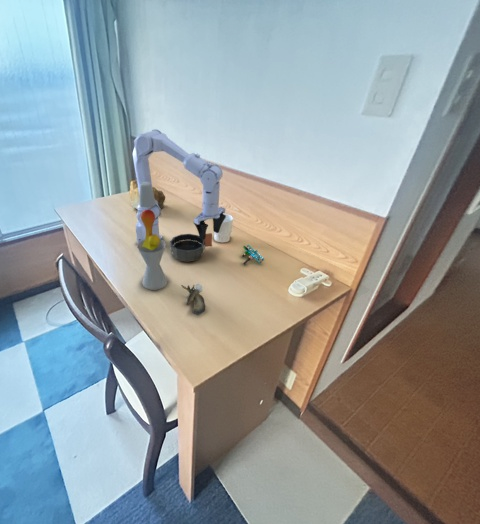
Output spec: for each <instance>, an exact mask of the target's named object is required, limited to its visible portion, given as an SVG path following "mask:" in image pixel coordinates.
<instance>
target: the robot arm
mask: <svg viewBox="0 0 480 524" xmlns="http://www.w3.org/2000/svg"><path fill="white" fill-rule="evenodd" d="M133 144H134V145H133V146H134V147H133V151H132V160H133V165H134V171H135V172H134V173H135V177H136V180H137V184H138V190H139V196H140V184H141V183H143V182H149V183H151V186H152V187H153V183H152V182H153V181H152V175H151V169H150V168H151V167H150V162H149V161H150V160H149V158H150V157H151V156H152V154H154V153H159V152H164V153H166V154H167V155H169V156H171V157H173V158H174V159H176V160H177V161H179V162H181V163H183V166H184V169H185V170H187V171H188V172H189V173H191V174H193V175H194V176H195V177H197V178H198V179H200V183H201V184H202V211H201V213H200V214H198V215H197V216H195V217H194V218H193V224H194V226H195V227H196V229H197V232H198V233H197V234H198V236H200V238H201V239H203V240H204V239H205V237H206V234H207V229H208V227H209V224H208V223H206V222H205V221H208V220H212V227H213V228H212V229H213V233H214V232H216V233H219V230H220V227H221V225H222V223H223V221H224V219H225V218H226V215H224V214H226V208H225V207H223V206H220V207H219V205H220V191H221V189H220V187H221V186H220V185H221V180H222V178H223V170H222V168H221V167H220V165H218V164H212V163H211V162H208V161H206V160H205V159H204V158H202V157H201V155H200V153H195V152H192V153H189V152H187V151H186V150H185V149H183V148H182V147H180V145H178V144H177V143H176V142H174V141H173V140H171V139H170V138H169V137H168V136H167V133H163V132H161V130H159V129H157V128H155V129H152V130H150V131H146V132H143V133H140V134H138V135H137V136H136V137H135V139H134V140H133ZM152 190H153V189H152ZM155 202H156V205H155V206H152V207H147V208H146V207H141V206H138V208H137V209H136V210H137V213H136V219H137V221H136V224H135V234H136V235H135V236H136V245H138V243H139V242H141V241H143V240H145V238H146V229H145V226H144V224H143V222H142V220H141V214H142V212H143V211H145V210H151V211H152V212H153V213H154V214H155V220H154V223H153V227H152V234H153V235H157V236H158V237H159V239H161V240H162V239H163V236H162V235H160V225H159V217H160V216H161V213H162V210H161V209H160V208H159V206H158V202H157V201H156V200H155Z"/></svg>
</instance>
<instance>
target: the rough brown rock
mask: <svg viewBox="0 0 480 524" xmlns="http://www.w3.org/2000/svg"><path fill="white" fill-rule="evenodd" d="M152 189H153V194H154V198H155V200H156V201H157V202H158V206H159V208H160V210H161V209H163V208H164V203H165V201H166V196H165V194H164V192H163V190H159V189H157V188H156V187H155V186H152ZM139 198H140V196H139V190H138V184H137V179H133V180H130V184H129V201H130V205H131V207H132V208H133V209H136V210H138V209H137V208H138V206H139Z"/></svg>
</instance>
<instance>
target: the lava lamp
mask: <svg viewBox="0 0 480 524" xmlns="http://www.w3.org/2000/svg"><path fill="white" fill-rule="evenodd" d="M152 187H153V185H152V186H151V183H149V182H143V183H141V184H140V198H139V206H141V207H146V208H147V207H152V206H155V205H156V202H155V198H154V194H153V190H152ZM141 220H142V222H143V224H144V226H145V229H146V238H145V240H143V241H141V242H139V243H138V244H136V245H137V246H136V248H137V250H138V252H139V253H140V255H141V258H142V260H143V261H144V263H145V264H146V266H145V270H144V275H143V279H142V286H143V287H144V288H145V289H146V290H150V291H151V290H152V291H155V290H157V291H158V290H160V289H163V288H165V287H166V286H167V284H168V279H167V277H166V274H165V273H164V270H163V269H162V266H161V261H162V258H163V254H164V252H165V250H166V249H165V248H166V242H165V241H164V240H162V239H159V237H158V236H157V235H153V234H152V227H153V223H154V220H155V214H154V213H153V212H152V211H151V210H145V211H143V212H142V214H141Z"/></svg>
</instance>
